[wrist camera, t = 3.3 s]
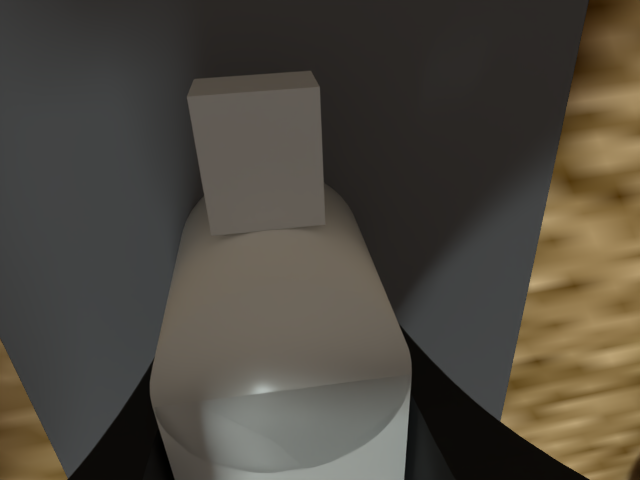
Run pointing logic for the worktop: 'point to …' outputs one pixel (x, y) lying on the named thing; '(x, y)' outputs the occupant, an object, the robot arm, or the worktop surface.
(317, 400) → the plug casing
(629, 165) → the worktop surface
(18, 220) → the rubber mat
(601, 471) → the worktop surface
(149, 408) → the robot arm
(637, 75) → the worktop surface
